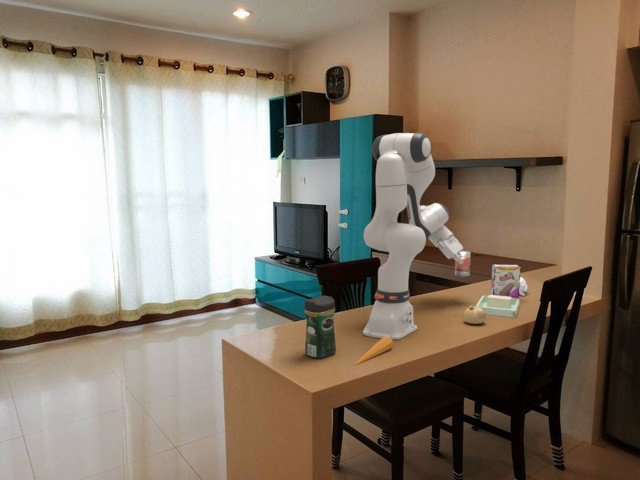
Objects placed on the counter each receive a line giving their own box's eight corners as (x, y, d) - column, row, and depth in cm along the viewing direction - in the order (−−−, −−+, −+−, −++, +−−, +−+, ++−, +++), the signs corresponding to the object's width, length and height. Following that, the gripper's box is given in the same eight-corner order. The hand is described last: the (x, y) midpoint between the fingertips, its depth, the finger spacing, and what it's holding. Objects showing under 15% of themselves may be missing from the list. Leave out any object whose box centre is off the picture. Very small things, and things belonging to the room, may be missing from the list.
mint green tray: (514, 319, 193) (515, 310, 192) (475, 315, 199) (475, 306, 199) (519, 306, 211) (519, 298, 210) (482, 303, 217) (482, 295, 217)
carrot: (386, 348, 165) (381, 336, 165) (397, 346, 162) (391, 333, 162) (351, 373, 150) (345, 359, 150) (362, 371, 147) (356, 357, 147)
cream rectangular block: (509, 309, 205) (510, 299, 204) (487, 306, 209) (487, 297, 208) (511, 306, 209) (511, 296, 209) (488, 303, 213) (489, 294, 213)
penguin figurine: (510, 276, 230) (518, 274, 239) (508, 294, 230) (517, 292, 240) (524, 278, 226) (532, 276, 235) (522, 296, 226) (531, 294, 236)
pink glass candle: (468, 276, 207) (469, 253, 206) (453, 275, 210) (454, 252, 209) (470, 274, 213) (471, 251, 211) (456, 273, 215) (457, 250, 214)
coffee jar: (323, 347, 164) (323, 292, 162) (339, 353, 158) (339, 296, 156) (300, 354, 158) (299, 297, 155) (316, 361, 152) (316, 302, 149)
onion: (466, 319, 194) (467, 301, 194) (487, 322, 190) (488, 304, 189) (461, 324, 188) (461, 306, 187) (482, 327, 184) (483, 309, 183)
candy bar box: (492, 303, 217) (494, 266, 215) (490, 300, 222) (491, 264, 220) (519, 303, 216) (521, 266, 214) (515, 300, 221) (517, 264, 219)
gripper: (442, 235, 203) (465, 260, 200) (452, 230, 221) (473, 254, 218) (430, 245, 205) (453, 270, 202) (441, 240, 224) (462, 263, 221)
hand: (464, 262), depth 210 cm, fingers closed on pink glass candle, 6 cm apart
